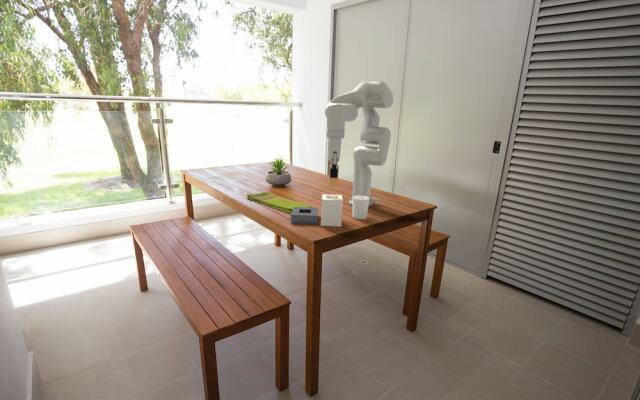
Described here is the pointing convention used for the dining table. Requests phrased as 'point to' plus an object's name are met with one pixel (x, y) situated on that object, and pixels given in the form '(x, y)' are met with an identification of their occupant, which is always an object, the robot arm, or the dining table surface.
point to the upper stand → (331, 210)
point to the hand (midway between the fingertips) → (333, 176)
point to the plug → (333, 179)
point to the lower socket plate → (304, 215)
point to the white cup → (360, 206)
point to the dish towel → (275, 201)
